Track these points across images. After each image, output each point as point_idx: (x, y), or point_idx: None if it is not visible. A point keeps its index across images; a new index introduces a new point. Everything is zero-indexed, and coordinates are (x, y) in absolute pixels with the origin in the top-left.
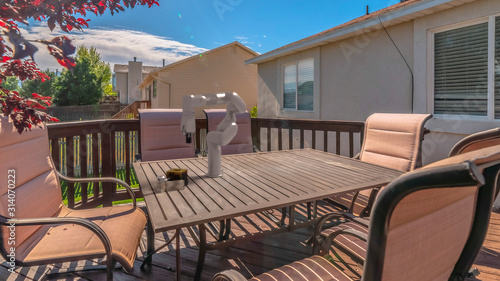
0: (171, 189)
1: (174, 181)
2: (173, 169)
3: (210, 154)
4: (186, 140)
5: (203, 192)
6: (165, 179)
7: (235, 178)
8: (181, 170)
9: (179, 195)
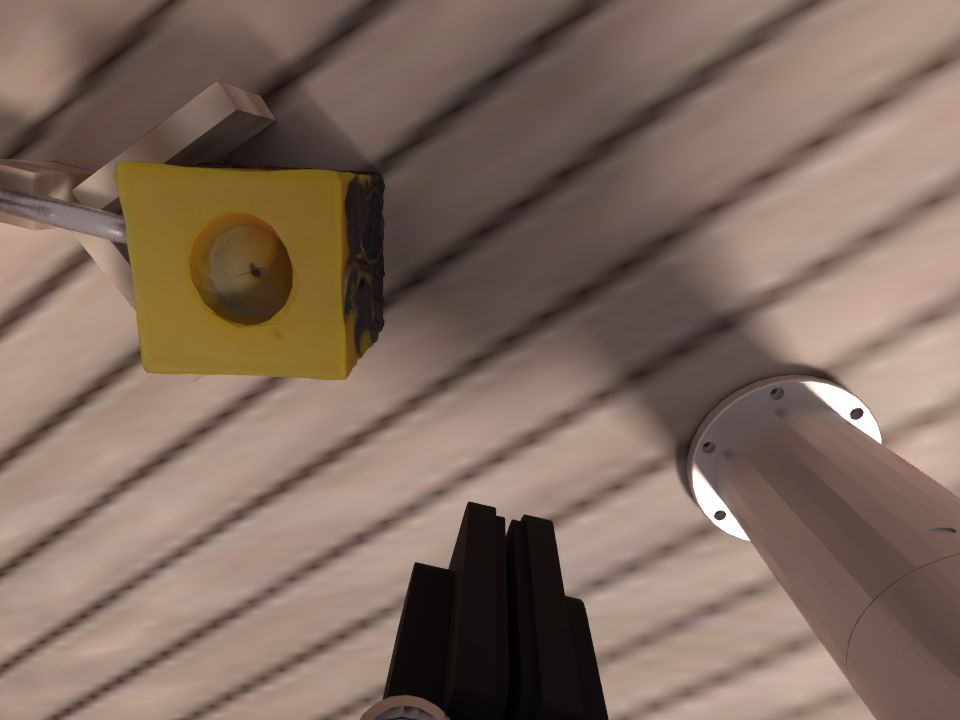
0: None
1: (132, 299)
2: (264, 208)
3: (865, 612)
4: (406, 603)
5: (210, 519)
6: (45, 221)
7: (674, 638)
8: (246, 338)
9: (68, 383)
